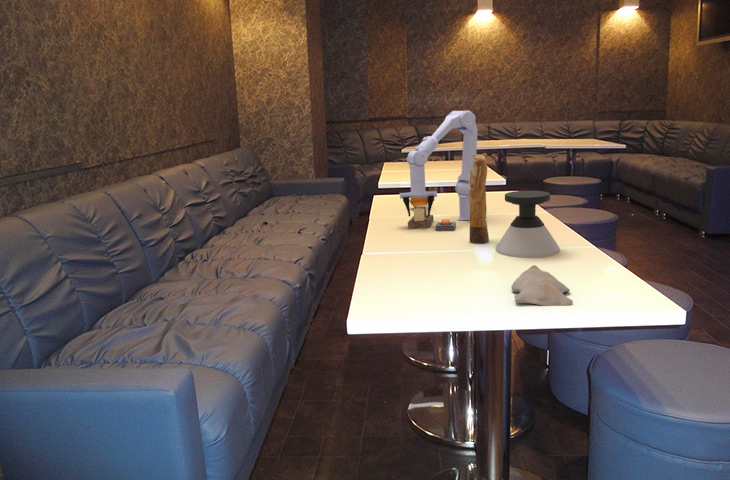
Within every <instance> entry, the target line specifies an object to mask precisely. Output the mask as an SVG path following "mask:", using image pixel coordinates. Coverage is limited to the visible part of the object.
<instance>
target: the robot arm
mask: <svg viewBox="0 0 730 480" xmlns="http://www.w3.org/2000/svg"><path fill="white" fill-rule="evenodd" d="M452 129H457V130H459V132H460V133H461V134H462V135H463V136H462V137H463V140H462V141H463V143H462V157H461V159H462V160H461V173H460V174H459V176H458V177H457V182H456V184H455V187H454V189H455V192H456V194H457V195H458V202H459V203H458V204H459V206H458V207H459V216H458V217H457V220H458V221H470V200H469V190H470V189H471V187H470V173H471V169H472V167H473V157H472V155H474V154H477V146H478V126H477V122H476V115H475V114H474V113H473V112H472V111H471V110H468V109H467V110H452V111H451V112H450V113H449V114H447V115H446V116H445V119H444V120H443V122H442V123H441V124H440V125H439V126H438V127H437V129H436V130H435V131H434V132H433V133H432V134H431V136H430V135H428V136H425V137H423V138H422V141H421V143H419V145H417V146H415V148H414V149H413V150H411V151H409V153H408V155H407V157H406V163H407V164H408V166H409V176H410V177H409V178H410V191H409V192H399V199H400V200H401V199H402V201H403V203H404V205H405V208H406V211H407V214H408V215H407V216H408V217H411V209H410V201H409V199H411V198H418V197H428V203H427V205H428V216H430V215H431V211H432V210H431V209H432V207H433V204H434V202H435V198H437V197H438V192H437V191H436V190H435V191H433V190H432V191H427V190H426V171H425V169H426V168H425V165H426V164H427V162H428V158H429V156H430V155H431V154H432V153H433V152H434V151H435V150H436V149H437V148H439V147H438V146H439V141H441V140H442V139H443V138H444V137H445V136H446V135H447V134H448V133H449V132H450V131H451V130H452ZM425 190H426V191H425ZM422 195H423V196H422Z"/></svg>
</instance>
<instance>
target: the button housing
mask: <svg viewBox="0 0 730 480" xmlns="http://www.w3.org/2000/svg"><path fill="white" fill-rule="evenodd" d="M456 228H457V222H456V221H450V225H442V221H440V222H439V221H437V223H436V224H435V232H449V231H450V232H454V231H455V230H456Z"/></svg>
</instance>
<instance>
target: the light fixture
mask: <svg viewBox="0 0 730 480" xmlns="http://www.w3.org/2000/svg"><path fill="white" fill-rule="evenodd" d="M504 201H505V202H507V203H510V204H512V205H518V215H517V216H516V217H515V218H514V219H513V220H512V222H511V223H510V225H509V227H508V229H506V231H505V233H504V234H503V236H502V237H501V238H500V240H499V242H498V243H497V245H496V246H495V252H496V253H497V254H500V255H501V256H507V257H510V258H521V259H524V258H526V259H527V258H528V259H530V258H531V259H534V258H535V259H536V258H537V259H538V258H545V257H551V256H554V255H557V254H559V253H560V251H561V249H560V246H559V244H558V242H557V241H556V239H555V238H554V236H553V235H552V234H551V232H550V231H549V229H548V228H547V226H545V223H544V221H542V219H541V218H540V217H539V215H537V214H536V211H537V210H536V207H537V205H541V204H544V203H547V202H549V201H551V193H550V192H547V191H542V190H518V191H517V190H516V191H510V192H506V193H505V194H504Z"/></svg>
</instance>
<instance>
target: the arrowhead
mask: <svg viewBox="0 0 730 480" xmlns="http://www.w3.org/2000/svg"><path fill="white" fill-rule="evenodd" d="M510 288H511V291H513V292H516V293H517V294H515V295H514V296H513V297H514V301H515V303H516V304H534V305H538V306H542V307H556V306H558V307H559V306H561V307H569V306H572V305H573V303H574V302H573V300H572V299H571V298H569V297H567V295H565V294H564V293H569V292H570V291H571V290H570V288H569V287H567V286H566V285H565V284H564V283H563V282H561V281H559V280H558V279H557V278H556V277H555V276H554V275H552V274H551V273H550V272H548V271H544V270H542V269H540V268H539V267H538V266H537V265H535V264H534V265H531V266H530V267H529V268H528V269H526V270H524V271H523V272H521V273H520V275H519V276H518V277H517V278H516V279H515V280H514V281H513V283H512V285H511V287H510Z"/></svg>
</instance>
